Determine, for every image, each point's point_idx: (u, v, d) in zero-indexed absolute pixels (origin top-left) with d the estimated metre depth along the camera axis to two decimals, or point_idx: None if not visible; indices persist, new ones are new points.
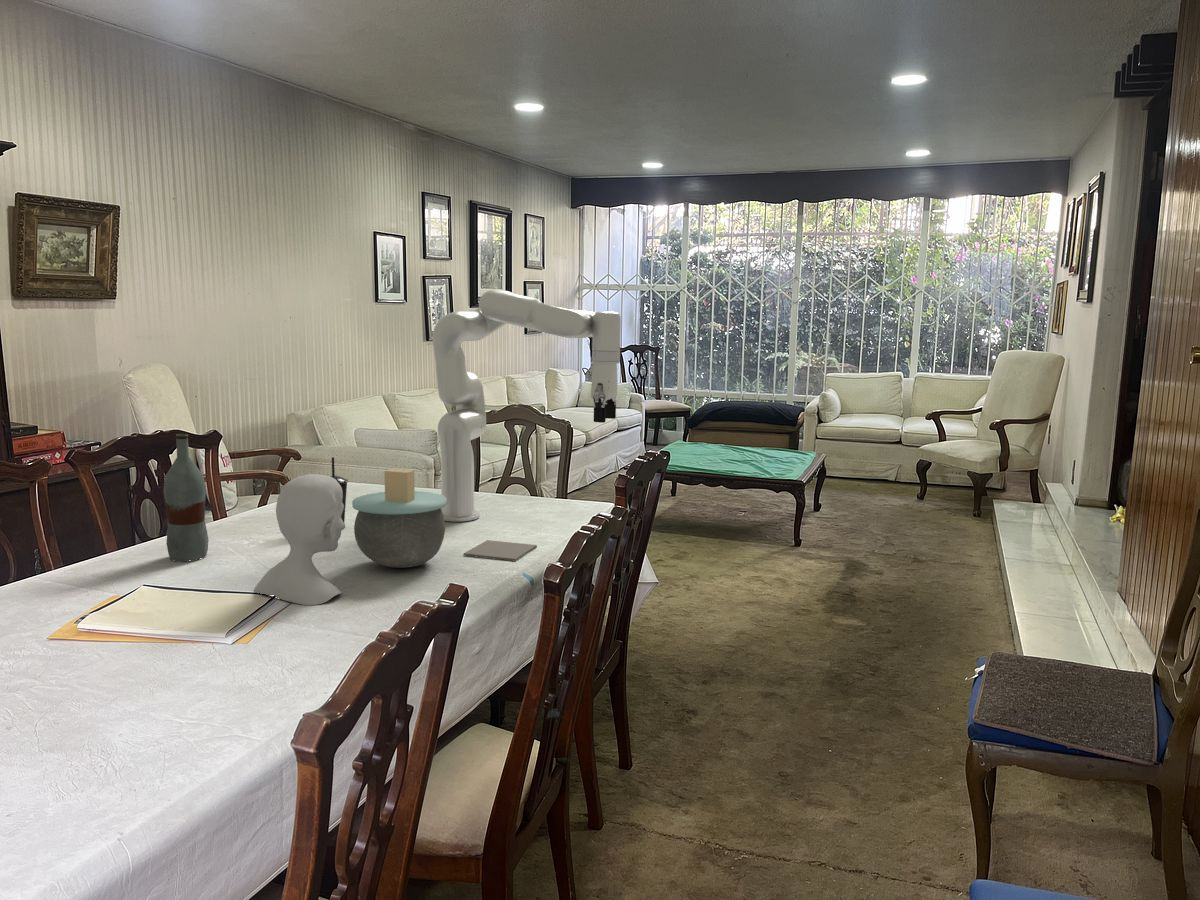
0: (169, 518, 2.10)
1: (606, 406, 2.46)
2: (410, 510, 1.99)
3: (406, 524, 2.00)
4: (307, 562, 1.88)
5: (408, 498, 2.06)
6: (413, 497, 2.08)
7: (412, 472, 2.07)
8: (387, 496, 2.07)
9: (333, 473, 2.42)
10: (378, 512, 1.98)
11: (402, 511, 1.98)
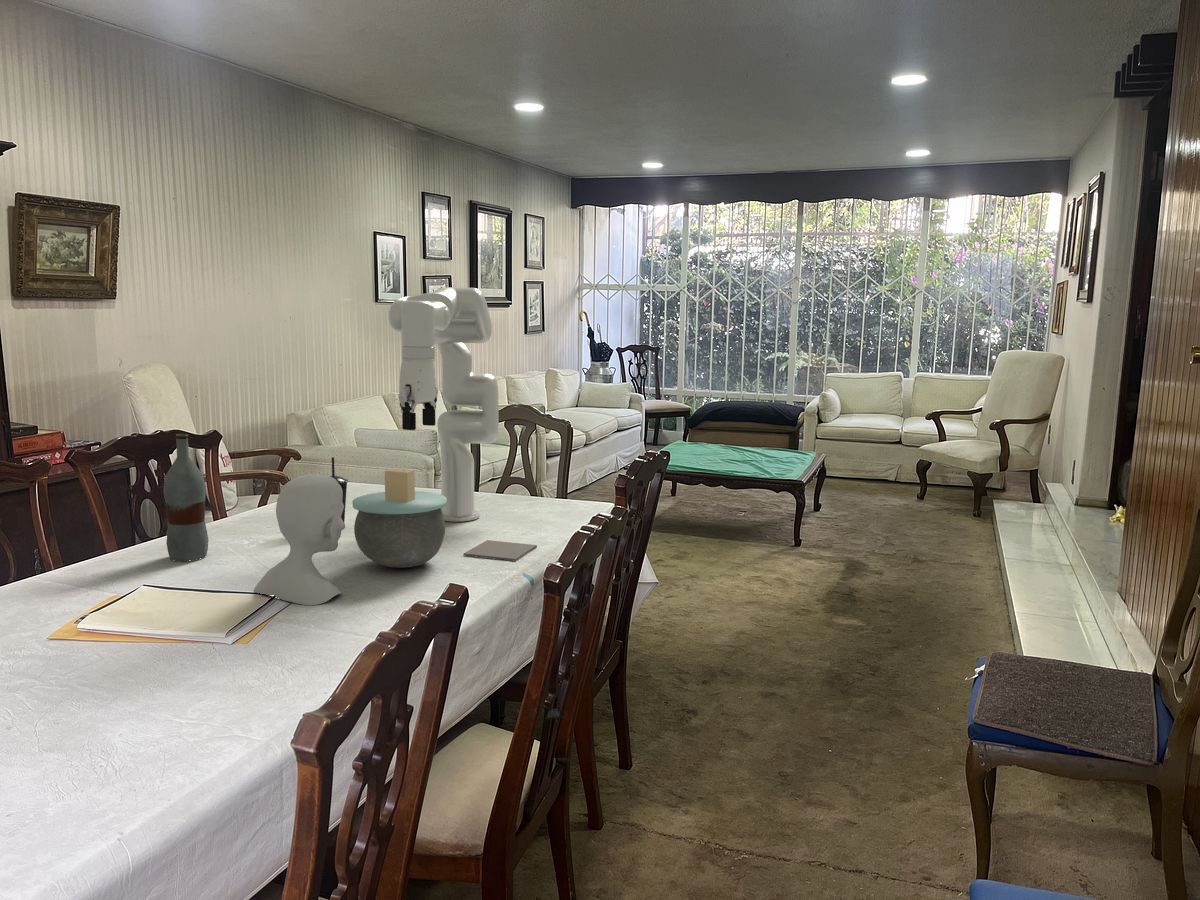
0: (169, 518, 2.10)
1: (424, 411, 2.13)
2: (410, 510, 1.99)
3: (406, 524, 2.00)
4: (307, 562, 1.88)
5: (408, 498, 2.06)
6: (413, 497, 2.08)
7: (412, 472, 2.07)
8: (387, 496, 2.07)
9: (333, 473, 2.42)
10: (378, 512, 1.98)
11: (402, 511, 1.98)
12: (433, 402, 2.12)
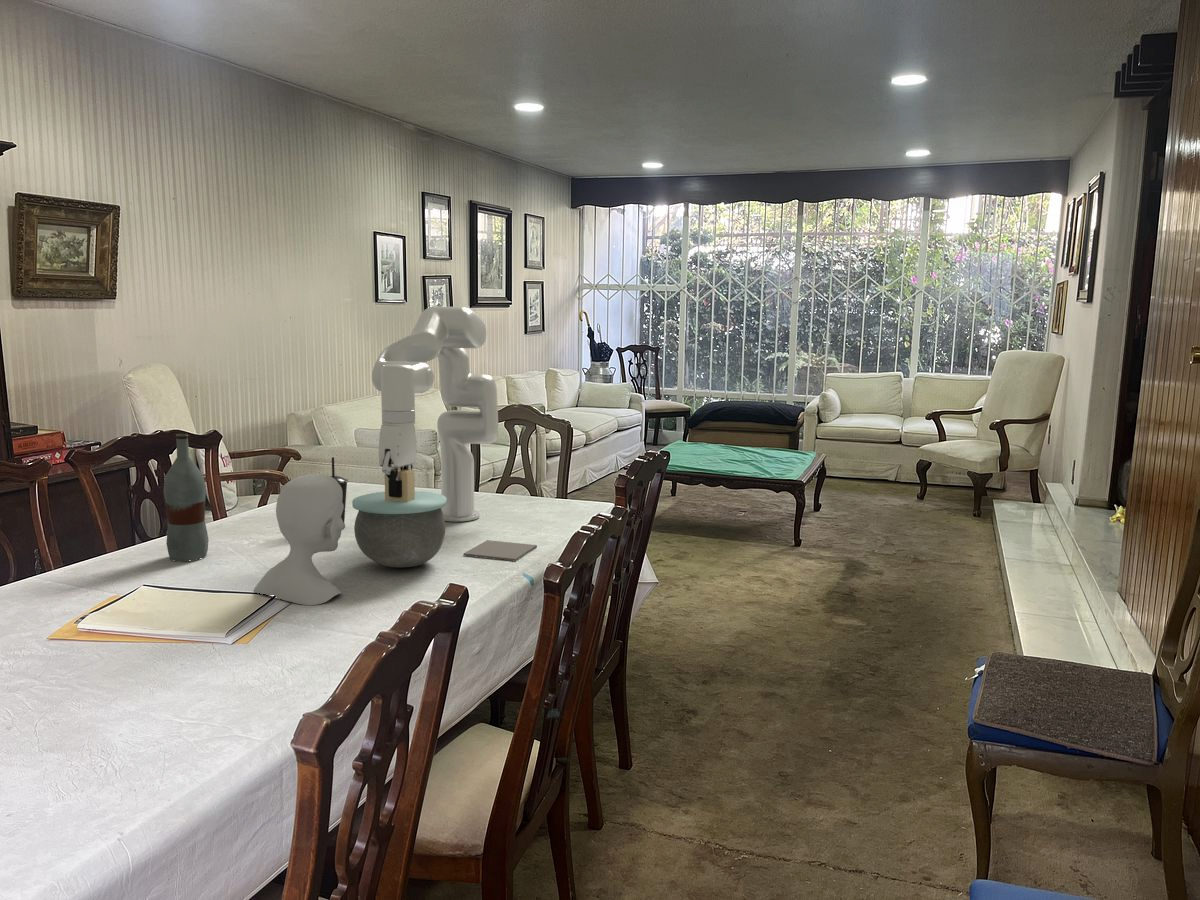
0: (169, 518, 2.10)
1: None
2: (410, 510, 1.99)
3: (406, 524, 2.00)
4: (307, 562, 1.88)
5: (408, 498, 2.06)
6: (413, 497, 2.08)
7: (412, 472, 2.07)
8: (387, 496, 2.07)
9: (333, 473, 2.42)
10: (378, 512, 1.98)
11: (402, 511, 1.98)
12: None
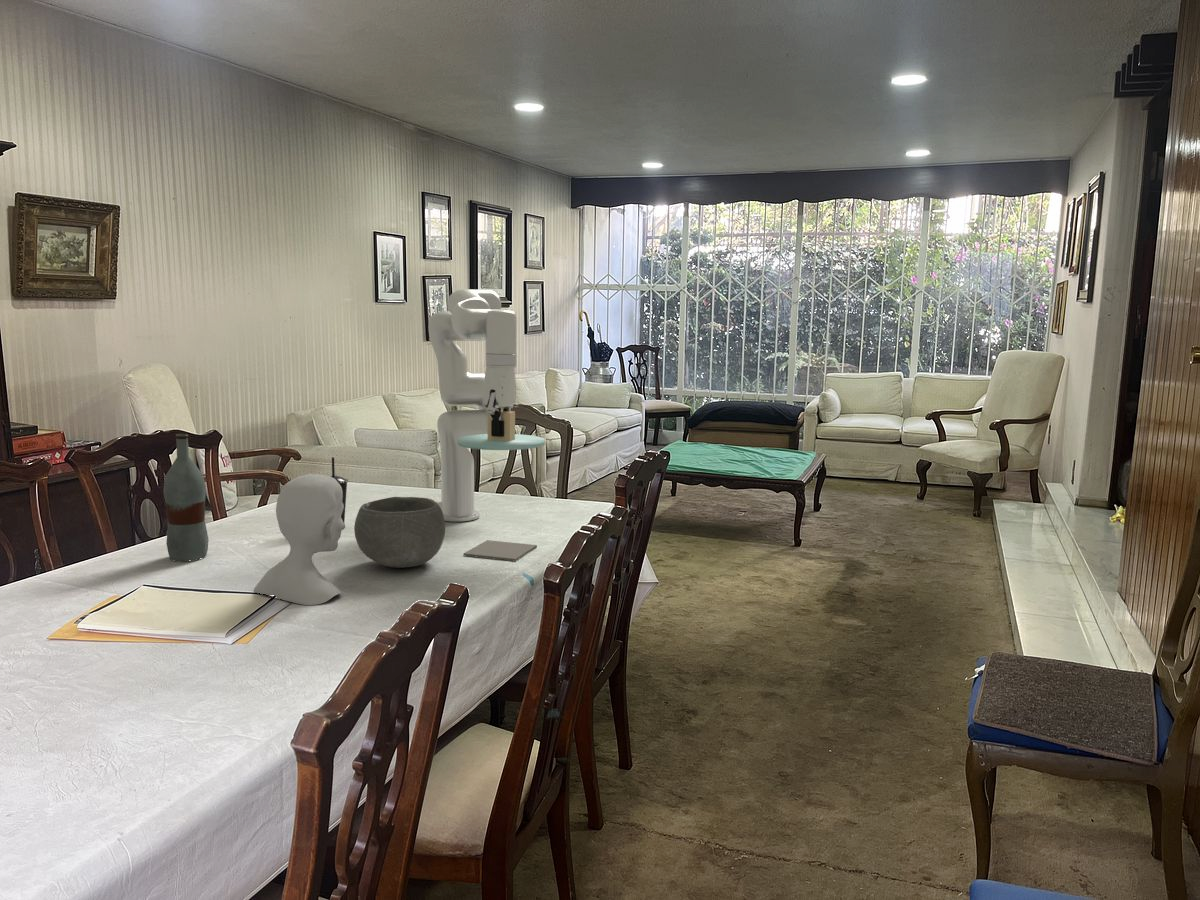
0: (169, 518, 2.10)
1: None
2: (516, 446, 2.10)
3: (406, 524, 2.00)
4: (307, 562, 1.88)
5: (510, 437, 2.18)
6: (514, 437, 2.20)
7: (513, 413, 2.19)
8: (490, 435, 2.19)
9: (333, 473, 2.42)
10: (486, 448, 2.10)
11: (508, 447, 2.10)
12: None
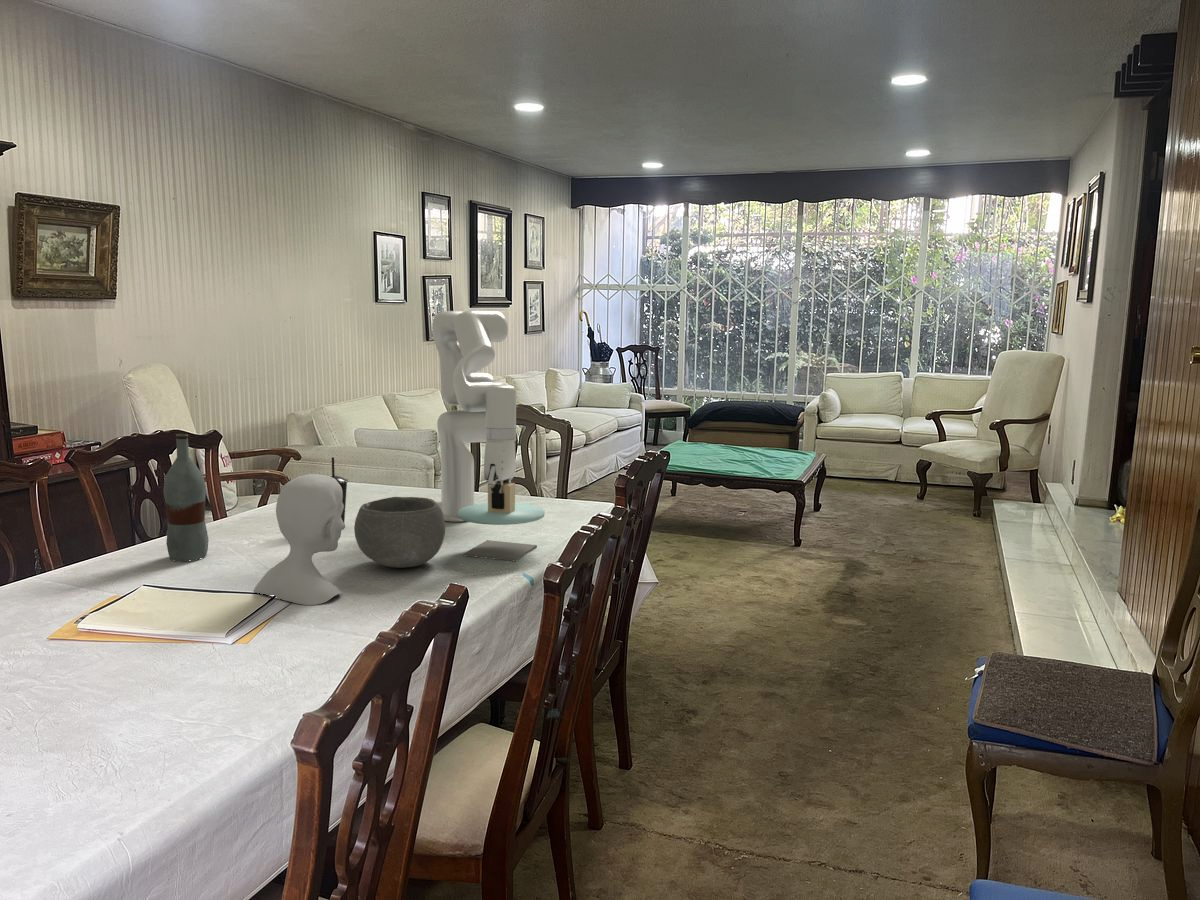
0: (169, 518, 2.10)
1: None
2: (516, 521, 2.13)
3: (406, 524, 2.00)
4: (307, 562, 1.88)
5: (510, 509, 2.20)
6: (514, 508, 2.23)
7: (513, 485, 2.22)
8: (490, 507, 2.22)
9: (333, 473, 2.42)
10: (486, 523, 2.12)
11: (509, 521, 2.13)
12: None
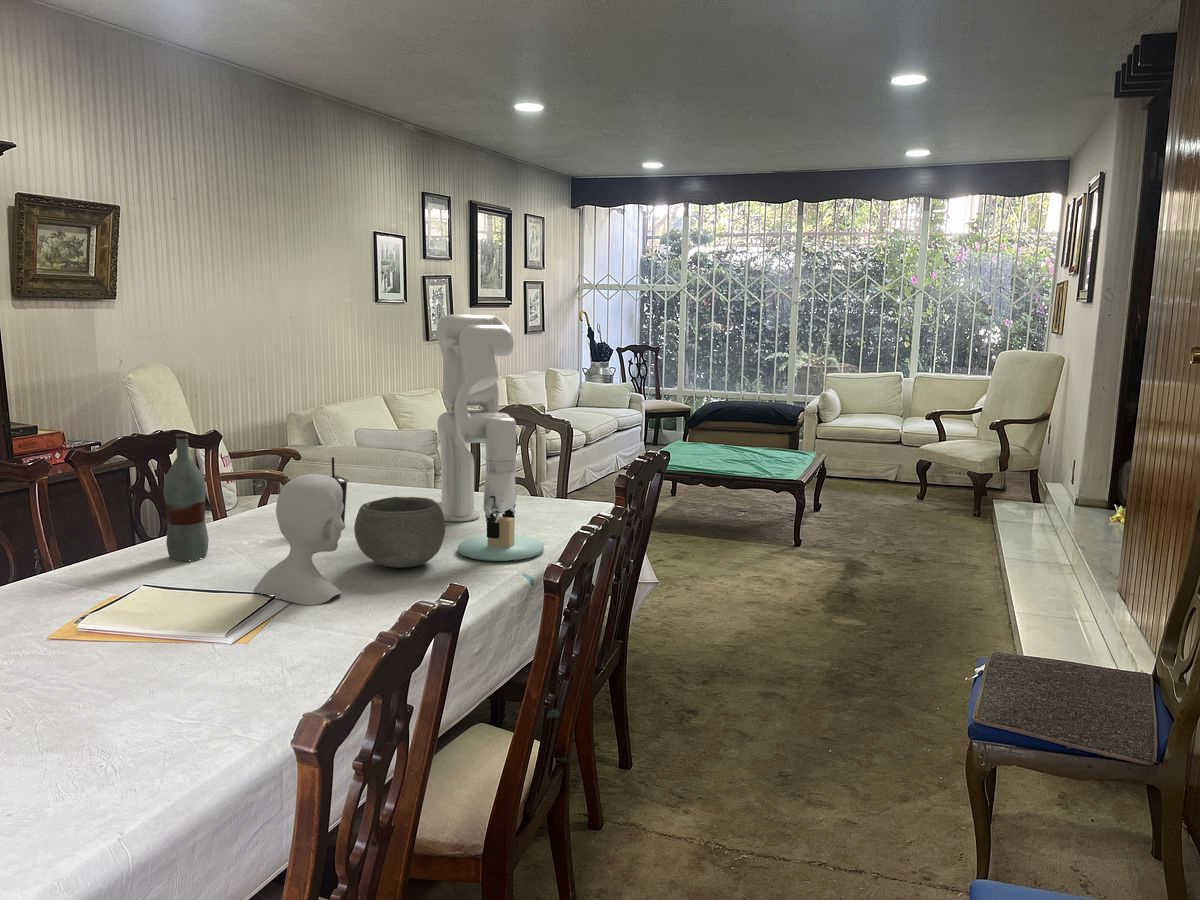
0: (169, 518, 2.10)
1: (504, 516, 2.28)
2: (515, 556, 2.15)
3: (406, 524, 2.00)
4: (307, 562, 1.88)
5: (509, 544, 2.22)
6: (513, 542, 2.24)
7: (513, 519, 2.23)
8: (489, 542, 2.23)
9: (333, 473, 2.42)
10: (486, 558, 2.14)
11: (508, 557, 2.14)
12: (512, 508, 2.27)
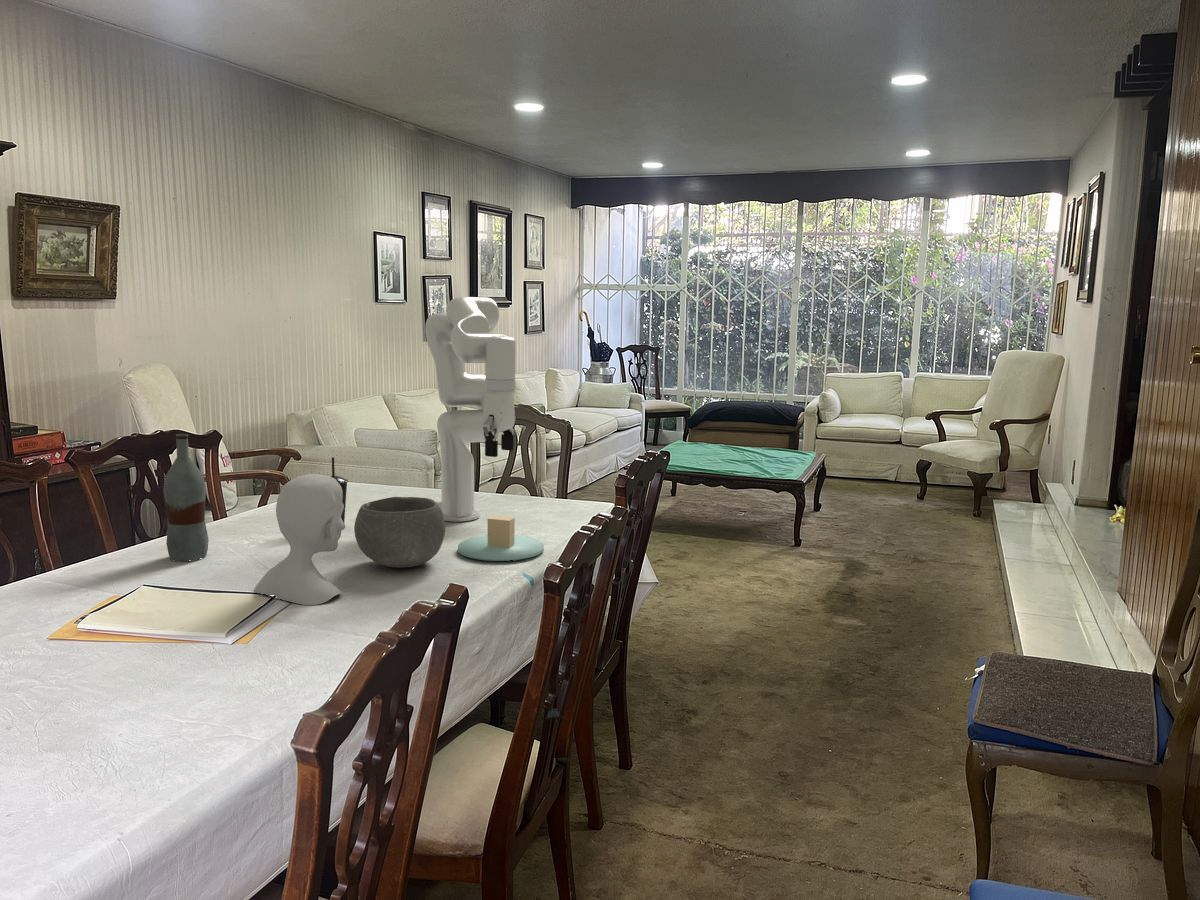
0: (169, 518, 2.10)
1: (503, 437, 2.29)
2: (515, 556, 2.15)
3: (406, 524, 2.00)
4: (307, 562, 1.88)
5: (509, 544, 2.22)
6: (513, 542, 2.24)
7: (513, 519, 2.23)
8: (489, 542, 2.23)
9: (333, 473, 2.42)
10: (486, 558, 2.14)
11: (508, 558, 2.14)
12: (512, 429, 2.28)
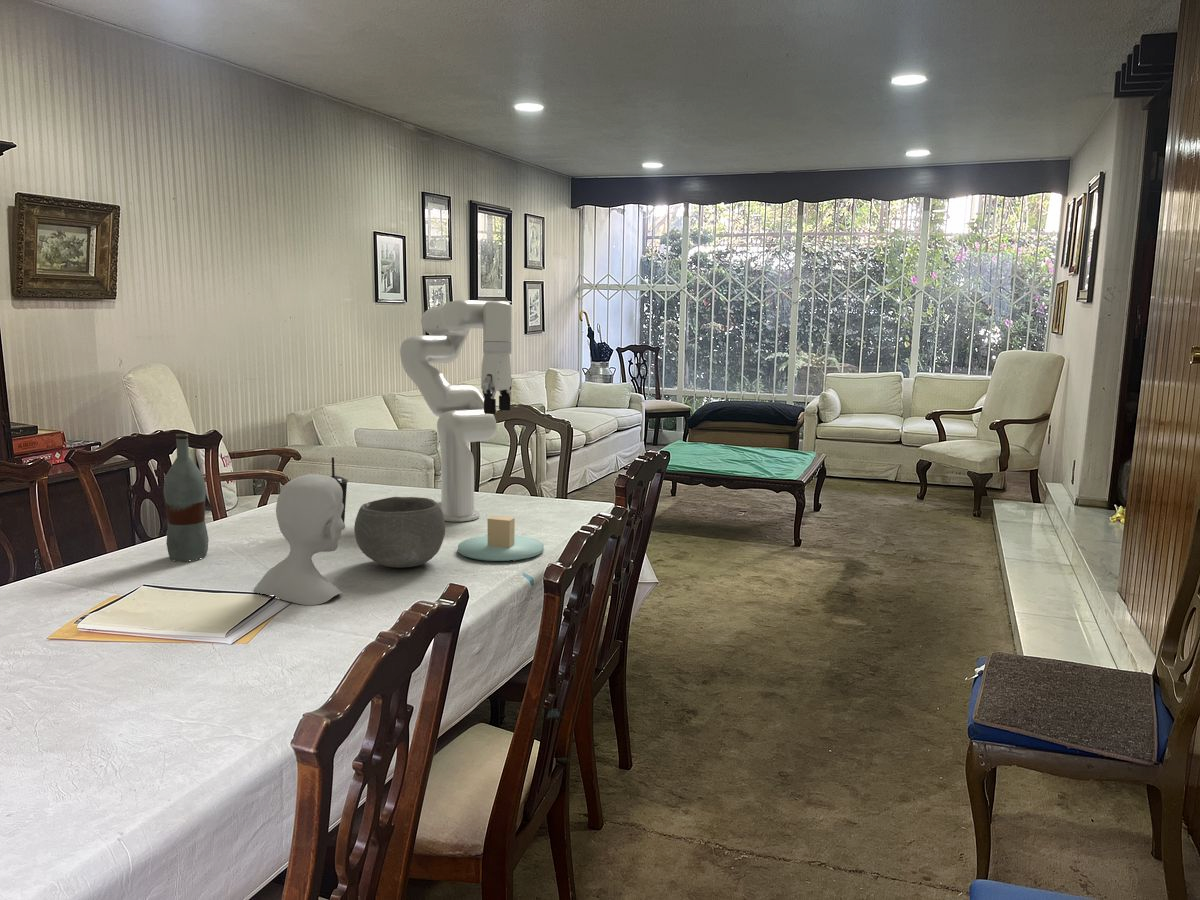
0: (169, 518, 2.10)
1: (500, 398, 2.43)
2: (515, 556, 2.15)
3: (406, 524, 2.00)
4: (307, 562, 1.88)
5: (509, 544, 2.22)
6: (513, 542, 2.24)
7: (513, 519, 2.23)
8: (489, 542, 2.23)
9: (333, 473, 2.42)
10: (486, 558, 2.14)
11: (508, 558, 2.14)
12: (508, 390, 2.42)
